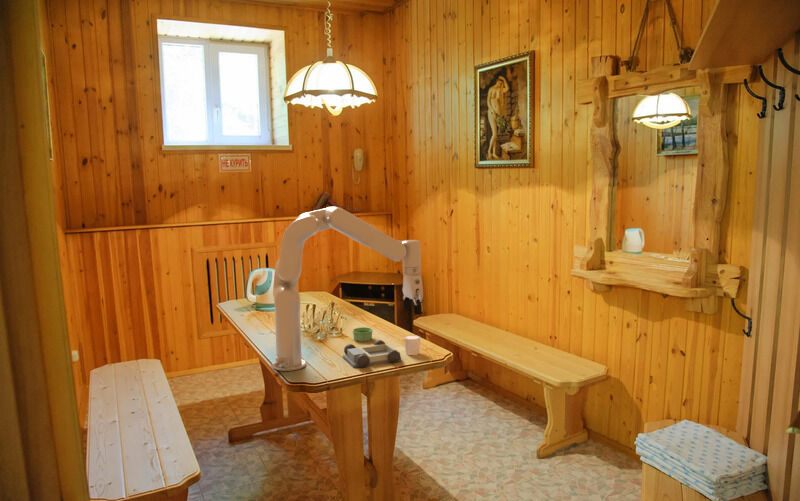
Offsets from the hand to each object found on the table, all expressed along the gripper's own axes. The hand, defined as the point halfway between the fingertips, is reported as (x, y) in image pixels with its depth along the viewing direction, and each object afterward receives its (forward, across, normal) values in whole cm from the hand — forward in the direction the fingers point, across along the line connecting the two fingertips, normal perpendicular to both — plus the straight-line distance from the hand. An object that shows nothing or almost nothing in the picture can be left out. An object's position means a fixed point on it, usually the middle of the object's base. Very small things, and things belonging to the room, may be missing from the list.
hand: (412, 311), depth 227 cm
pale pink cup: (+18, 0, 0) cm, 18 cm away
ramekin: (+18, +28, +12) cm, 35 cm away
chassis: (+18, +1, +18) cm, 25 cm away
